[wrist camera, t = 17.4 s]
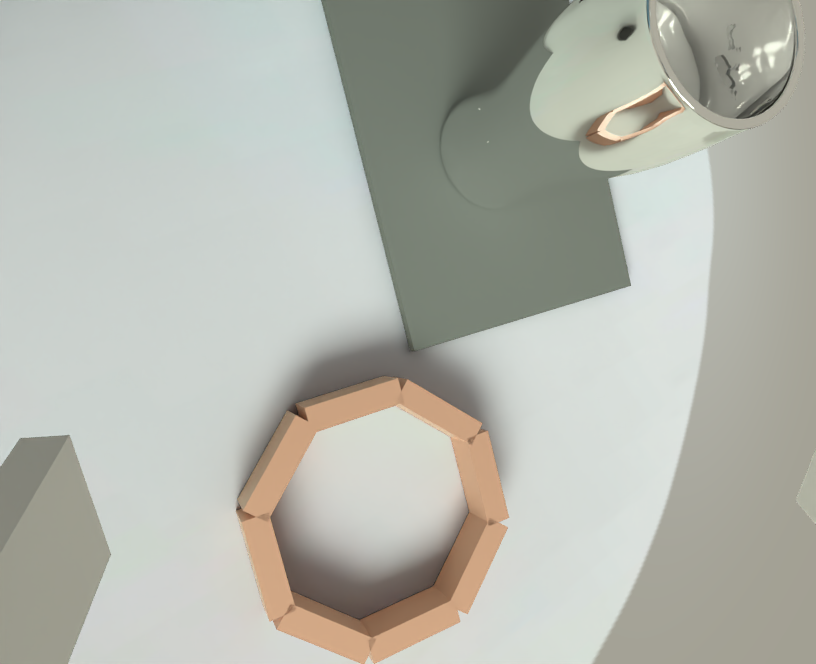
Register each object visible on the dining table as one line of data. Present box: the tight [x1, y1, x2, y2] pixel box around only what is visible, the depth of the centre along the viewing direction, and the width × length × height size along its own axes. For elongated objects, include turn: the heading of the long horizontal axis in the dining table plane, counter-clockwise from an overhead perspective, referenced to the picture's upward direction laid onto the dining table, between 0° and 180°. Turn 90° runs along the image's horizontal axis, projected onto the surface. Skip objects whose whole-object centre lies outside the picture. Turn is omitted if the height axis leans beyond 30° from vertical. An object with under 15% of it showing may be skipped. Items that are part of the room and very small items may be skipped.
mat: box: [322, 0, 631, 351], centre depth 34 cm, size 18×14×1 cm
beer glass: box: [440, 0, 805, 209], centre depth 27 cm, size 7×7×15 cm
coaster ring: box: [236, 376, 509, 664], centre depth 31 cm, size 12×12×2 cm
